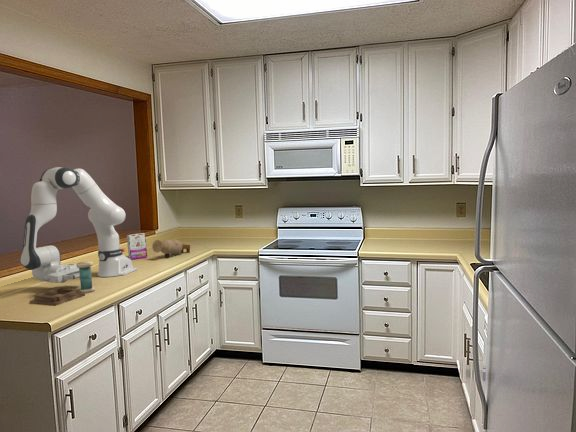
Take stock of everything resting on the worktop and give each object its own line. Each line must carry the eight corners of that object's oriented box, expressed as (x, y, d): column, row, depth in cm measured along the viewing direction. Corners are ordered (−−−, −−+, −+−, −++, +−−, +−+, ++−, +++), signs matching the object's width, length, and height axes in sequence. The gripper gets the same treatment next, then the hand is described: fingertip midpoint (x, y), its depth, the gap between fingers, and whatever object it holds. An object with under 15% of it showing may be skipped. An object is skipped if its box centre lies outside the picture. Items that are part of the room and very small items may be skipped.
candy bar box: (145, 256, 306) (143, 232, 304) (147, 257, 302) (145, 233, 300) (128, 259, 299) (126, 234, 298) (130, 260, 295) (128, 235, 294)
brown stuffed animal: (179, 257, 318) (150, 257, 290) (180, 240, 319) (151, 238, 291) (191, 258, 314) (162, 258, 286) (191, 240, 315) (164, 238, 287)
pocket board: (59, 293, 217) (59, 287, 216) (84, 295, 210) (84, 289, 210) (29, 302, 202) (29, 296, 202) (55, 305, 196) (55, 298, 195)
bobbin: (87, 289, 222) (84, 261, 221) (98, 290, 220) (95, 261, 218) (75, 293, 216) (73, 264, 215) (86, 293, 213) (84, 264, 212)
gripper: (41, 272, 213) (62, 273, 208) (76, 263, 232) (96, 264, 227) (42, 285, 214) (64, 286, 209) (77, 275, 233) (98, 276, 228)
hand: (81, 275), depth 218 cm, fingers open, 8 cm apart
